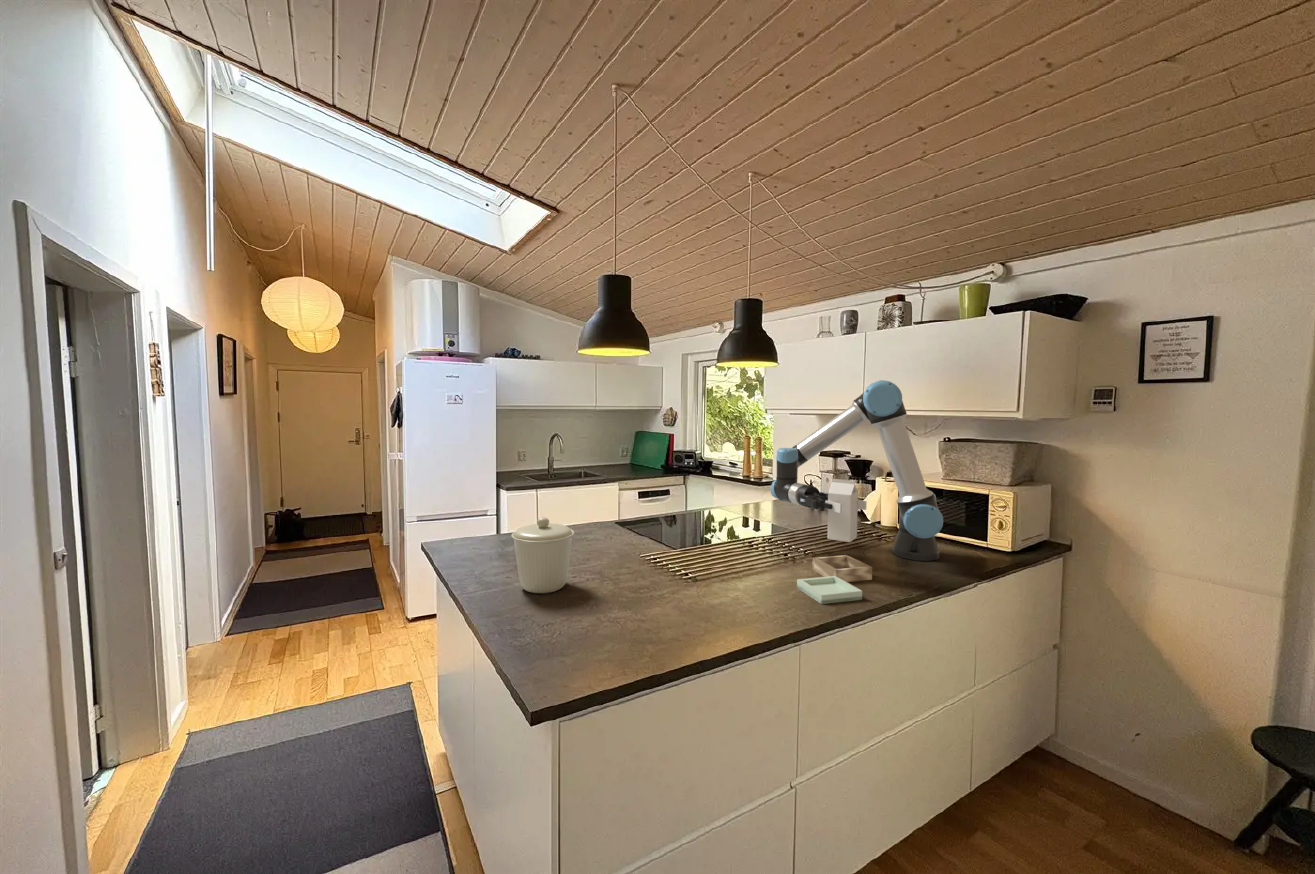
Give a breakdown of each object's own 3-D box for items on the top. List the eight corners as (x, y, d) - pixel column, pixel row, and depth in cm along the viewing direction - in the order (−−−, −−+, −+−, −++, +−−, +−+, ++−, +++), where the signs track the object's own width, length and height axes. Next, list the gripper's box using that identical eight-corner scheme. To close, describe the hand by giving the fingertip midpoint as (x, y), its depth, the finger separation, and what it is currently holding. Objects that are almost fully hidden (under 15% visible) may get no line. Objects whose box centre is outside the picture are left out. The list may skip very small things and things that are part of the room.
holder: (846, 566, 178) (846, 555, 177) (871, 579, 165) (872, 566, 165) (812, 569, 174) (812, 557, 174) (835, 583, 162) (835, 570, 162)
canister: (560, 601, 146) (560, 526, 145) (500, 596, 150) (499, 523, 148) (583, 579, 164) (582, 512, 162) (528, 575, 168) (527, 509, 166)
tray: (834, 583, 161) (835, 575, 161) (862, 599, 149) (862, 590, 148) (796, 587, 158) (797, 579, 158) (821, 604, 145) (821, 595, 145)
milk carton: (849, 542, 164) (851, 482, 163) (827, 539, 168) (828, 480, 167) (856, 538, 170) (858, 479, 168) (834, 534, 174) (836, 477, 173)
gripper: (828, 503, 189) (879, 515, 169) (779, 508, 180) (826, 522, 160) (829, 482, 189) (879, 492, 169) (779, 487, 179) (826, 498, 159)
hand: (853, 507), depth 164 cm, fingers closed on milk carton, 9 cm apart
